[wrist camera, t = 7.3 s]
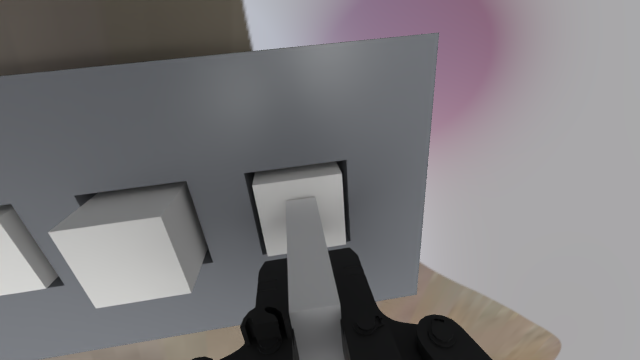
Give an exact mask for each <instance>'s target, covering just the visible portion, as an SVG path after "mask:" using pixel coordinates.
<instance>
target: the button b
mask: <svg viewBox="0 0 640 360" xmlns="http://www.w3.org/2000/svg"><path fill="white" fill-rule="evenodd" d="M48 233H49V235H50V237H51V238H52V240H53V241H54V243H55V244H56V246H57V248H58V249H59V251H60V252H61V254H62V256H63V257H64V259H65V260H66V262H67V264H68V265H69V267H70V268H71V270H72V271H73V273H74V275H75V276H76V278H77V279H78V281H79V283H80V284H81V286H82V287H83V289H84V291H85V292H86V294H87V295H88V297H89V298H90V300H91V302H92V303H93V305H94V306H95V308H102V307H109V306H115V305H121V304H127V303H133V302H139V301H146V300H152V299H158V298H164V297H170V296H177V295H183V294H189V293H192V290H193V287H194V285H195V282H196V279H197V276H198V274H199V271H200V268H201V266H202V263H203V260H204V257H205V255H206V252H207V249H208V245H207V242H206V239H205V236H204V233H203V230H202V227H201V224H200V221H199V218H198V215H197V212H196V209H195V206H194V203H193V200H192V197H191V194H190V191H189V188H188V185H187V182H186V181H182V182H174V183H167V184H159V185H151V186H144V187H136V188H129V189H121V190H113V191H106V192H98V193H97V194H96V195H95V196H93V197H92V198H91V199H90V200H88V201H87V202H86V203H84V204H83V205H82V206H81V207H79V208H78V209H77V210H76V211H74V212H73V213H72V214H71V215H69V216H68V217H67V218H66V219H64V220H63V221H62V222H60V223H59V224H58V225H57V226H55V227H54V228H53V229H52V230H50V231H49V232H48Z"/></svg>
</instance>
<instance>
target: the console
mask: <svg viewBox="0 0 640 360" xmlns="http://www.w3.org/2000/svg"><path fill="white" fill-rule="evenodd" d="M438 38H439V33H431V34H421V35H412V36H401V37H390V38H380V39H370V40H360V41H350V42H340V43H331V44H320V45H310V46H300V47H290V48H279V49H270V50H261V51H249V52H239V53H229V54H219V55H209V56H199V57H189V58H179V59H168V60H158V61H148V62H138V63H128V64H118V65H108V66H98V67H88V68H78V69H68V70H57V71H47V72H37V73H27V74H17V75H7V76H0V205H7V204H11V205H12V207H13V208H14V210H15V211H16V213H17V214H18V216H19V217H20V219H21V220H22V222H23V223H24V225H25V226H26V228H27V229H28V231H29V232H30V234H31V235H32V237H33V238H34V240H35V241H36V243H37V244H38V246H39V247H40V249H41V250H42V252H43V253H44V255H45V256H46V258H47V259H48V261H49V262H50V264H51V265H52V267H53V268H54V270H55V271H56V273H57V274H58V277H57V278H56V279H55V280H54V281H53V282H52V283H51V284H50V285H49V286H48V287H47V288H46V289H40V290H34V291H28V292H21V293H15V294H8V295H2V296H0V360H39V359H45V358H51V357H56V356H62V355H68V354H74V353H80V352H85V351H91V350H97V349H103V348H109V347H114V346H120V345H126V344H132V343H138V342H143V341H149V340H155V339H161V338H167V337H172V336H178V335H184V334H190V333H196V332H202V331H207V330H213V329H219V328H225V327H231V326H236V325H241V323H242V321H243V318H244V317H245V316H246V315H247V313H248V312H249V311H251V310H252V309H254V308H255V305H256V295H257V285H258V275H259V270H260V269H261V267H262V265H263V264H264V262H265V261H270V260H277V259H283V258H287V254H281V255H275V256H268V255H267V251H266V246H265V242H264V237H263V233H262V228H261V224H260V219H259V214H258V210H257V205H256V201H255V196H254V192H253V187H252V184H253V179H254V175H255V172H258V171H265V170H273V169H281V168H288V167H296V166H303V165H311V164H318V163H326V162H334V161H336V162H337V164H338V166H339V169H340V171H341V173H342V183H343V200H344V216H345V233H346V245H339V246H333V247H327V249H328V251H329V250H336V249H342V248H349V247H350V248H351V249H352V250H353V251H354V252H355V253H356V254H357V255H358V257H359V260H360V262H361V266H362V268H363V270H364V274H365V276H366V278H367V281H368V284H369V286H370V289H371V292H372V294H373V297H374V300H375V302H376V301H382V300H387V299H393V298H399V297H405V296H411V295H416V294H417V283H418V272H419V260H420V248H421V236H422V224H423V213H424V202H425V189H426V178H427V167H428V155H429V143H430V131H431V120H432V108H433V96H434V85H435V73H436V60H437V50H438ZM182 181H186V182H187V185H188V188H189V191H190V194H191V197H192V200H193V203H194V206H195V209H196V212H197V215H198V218H199V221H200V224H201V227H202V230H203V233H204V236H205V239H206V242H207V245H208V249H207V252H206V255H205V257H204V260H203V263H202V266H201V268H200V271H199V274H198V276H197V279H196V282H195V285H194V287H193V290H192V293H189V294H183V295H177V296H170V297H164V298H158V299H152V300H146V301H139V302H133V303H127V304H121V305H115V306H109V307H102V308H95V306H94V305H93V303H92V302H91V300H90V298H89V297H88V295H87V294H86V292H85V291H84V289H83V287H82V286H81V284H80V283H79V281H78V279H77V278H76V276H75V275H74V273H73V271H72V270H71V268H70V267H69V265H68V264H67V262H66V260H65V259H64V257H63V256H62V254H61V252H60V251H59V249H58V248H57V246H56V244H55V243H54V241H53V240H52V238H51V237H50V235H49V233H48V232H49V231H50V230H52V229H53V228H54V227H55V226H57V225H58V224H59V223H60V222H62V221H63V220H64V219H66V218H67V217H68V216H69V215H71V214H72V213H73V212H74V211H76V210H77V209H78V208H79V207H81V206H82V205H83V204H84V203H86V202H87V201H88V200H90V199H91V198H92V197H93V196H95V195H96V194H97V193H98V192H106V191H113V190H121V189H129V188H136V187H144V186H151V185H159V184H167V183H174V182H182Z"/></svg>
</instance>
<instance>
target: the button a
mask: <svg viewBox="0 0 640 360" xmlns="http://www.w3.org/2000/svg"><path fill="white" fill-rule="evenodd" d="M57 277H58V274H57V273H56V271H55V270H54V268H53V267H52V265H51V264H50V262H49V261H48V259H47V258H46V256H45V255H44V253H43V252H42V250H41V249H40V247H39V246H38V244H37V243H36V241H35V240H34V238H33V237H32V235H31V234H30V232H29V231H28V229H27V228H26V226H25V225H24V223H23V222H22V220H21V219H20V217H19V216H18V214H17V213H16V211H15V210H14V208H13V207H12V205H11V204H7V205H0V296H2V295H8V294H15V293H21V292H28V291H34V290H40V289H46V288H47V287H48V286H49V285H50V284H51V283H52V282H53V281H54V280H55V279H56V278H57Z"/></svg>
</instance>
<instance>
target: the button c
mask: <svg viewBox="0 0 640 360" xmlns="http://www.w3.org/2000/svg"><path fill="white" fill-rule="evenodd" d="M252 187H253V192H254V196H255V201H256V205H257V210H258V214H259V219H260V224H261V228H262V233H263V237H264V242H265V246H266V251H267V255H268V256H275V255H281V254H287V232H286V201H291V200H298V199H305V198H312V197H315V198H316V202H317V206H318V211H319V215H320V219H321V224H322V228H323V232H324V236H325V241H326V245H327V247H333V246H339V245H346V233H345V216H344V200H343V183H342V173H341V171H340V169H339V166H338V164H337V162H336V161H334V162H326V163H318V164H311V165H303V166H296V167H288V168H281V169H273V170H265V171H258V172H255V175H254V179H253V184H252Z"/></svg>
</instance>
